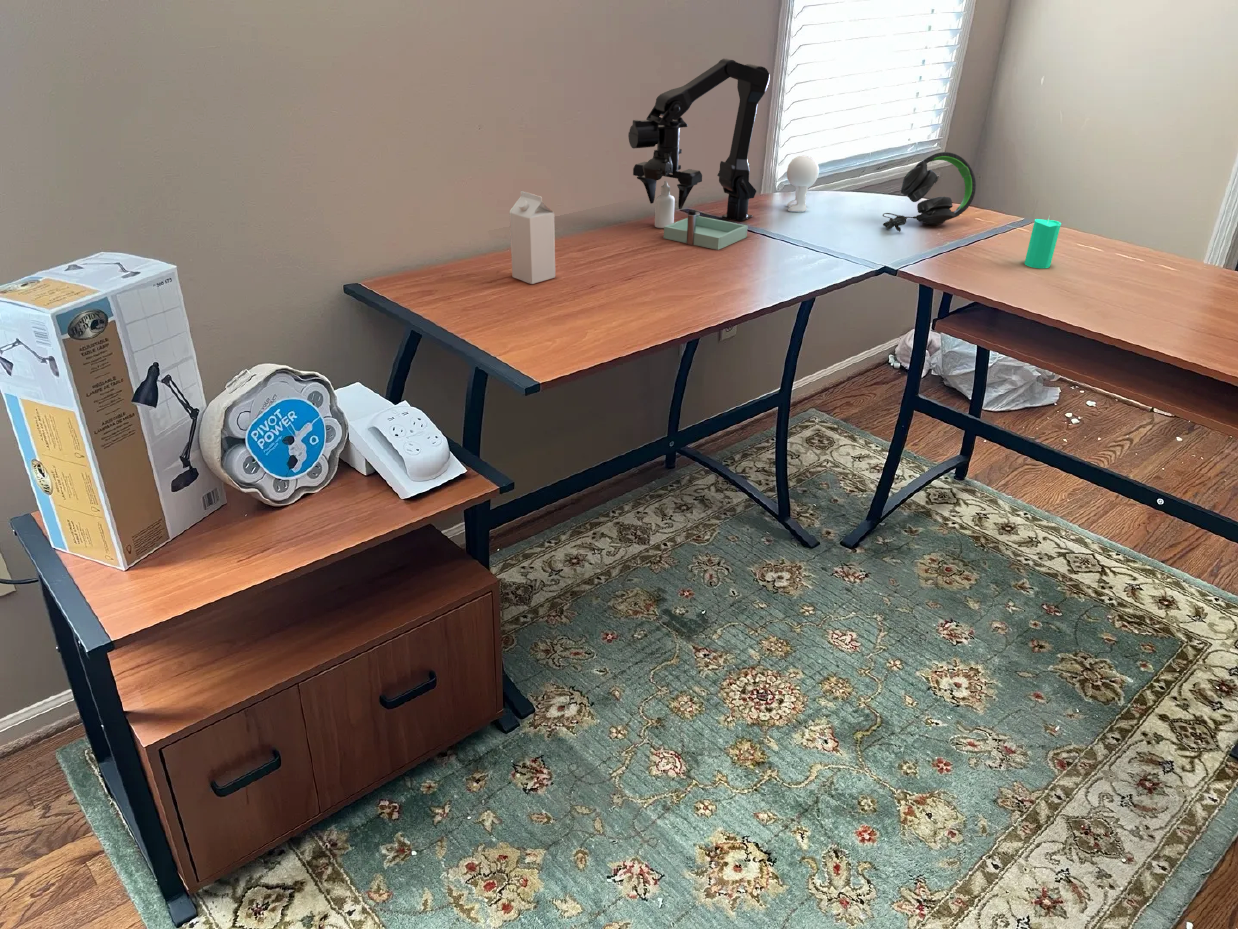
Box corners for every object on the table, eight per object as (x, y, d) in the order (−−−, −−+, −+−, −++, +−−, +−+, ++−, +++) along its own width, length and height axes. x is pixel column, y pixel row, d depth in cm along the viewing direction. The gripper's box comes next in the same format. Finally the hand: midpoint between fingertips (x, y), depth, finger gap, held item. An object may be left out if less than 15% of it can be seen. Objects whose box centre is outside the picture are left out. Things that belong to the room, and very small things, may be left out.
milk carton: (535, 270, 213) (533, 188, 203) (555, 278, 209) (554, 194, 199) (512, 277, 209) (508, 193, 199) (531, 285, 204) (528, 199, 195)
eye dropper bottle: (652, 224, 249) (653, 179, 243) (672, 223, 250) (673, 178, 244) (656, 228, 245) (657, 183, 239) (676, 227, 246) (678, 182, 240)
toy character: (782, 204, 270) (787, 151, 262) (813, 205, 269) (819, 152, 261) (783, 212, 262) (789, 158, 254) (815, 213, 261) (822, 159, 253)
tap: (692, 240, 236) (694, 207, 232) (700, 242, 235) (702, 209, 231) (684, 243, 233) (686, 211, 229) (691, 245, 232) (693, 212, 228)
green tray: (693, 226, 248) (694, 214, 246) (746, 237, 239) (747, 225, 238) (663, 238, 238) (663, 226, 236) (718, 250, 229) (718, 237, 228)
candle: (1020, 264, 222) (1032, 215, 216) (1029, 259, 225) (1041, 210, 219) (1044, 270, 218) (1057, 220, 212) (1054, 264, 222) (1067, 215, 216)
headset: (893, 257, 254) (975, 200, 256) (915, 249, 241) (1002, 189, 243) (859, 202, 252) (943, 144, 253) (880, 191, 238) (968, 131, 240)
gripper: (620, 145, 236) (620, 206, 244) (681, 155, 227) (678, 217, 234) (645, 139, 244) (644, 198, 252) (704, 148, 234) (701, 209, 242)
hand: (665, 205), depth 245 cm, fingers open, 9 cm apart
